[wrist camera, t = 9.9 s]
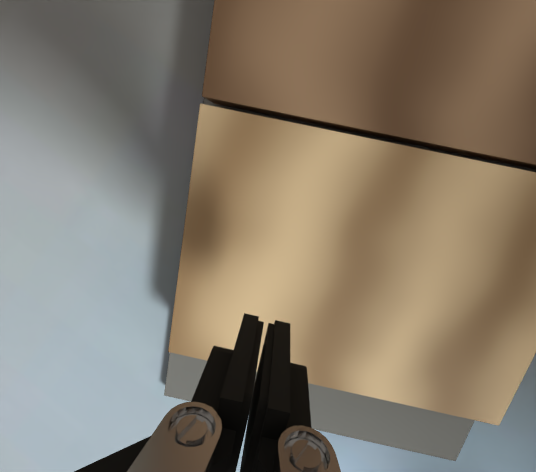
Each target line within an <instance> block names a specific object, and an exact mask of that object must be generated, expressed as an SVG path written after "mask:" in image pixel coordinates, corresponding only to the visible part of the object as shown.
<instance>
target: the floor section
mask: <svg viewBox="0 0 536 472" xmlns="http://www.w3.org/2000/svg"><path fill="white" fill-rule="evenodd" d="M202 97H204V101H203V104H205V105H210V106H215V107H219V108H224V109H229V110H234V111H239V112H244V113H249V114H254V115H258V116H263V117H268V118H273V119H278V120H283V121H288V122H293V123H297V124H302V125H307V126H312V127H317V128H322V129H327V130H332V131H336V132H341V133H346V134H351V135H356V136H361V137H366V138H371V139H375V140H380V141H385V142H390V143H395V144H400V145H405V146H410V147H414V148H419V149H424V150H429V151H434V152H439V153H444V154H449V155H453V156H458V157H463V158H468V159H473V160H478V161H483V162H488V163H492V164H497V165H502V166H507V167H512V168H517V169H522V170H527V171H531V172H536V0H215V1H214V8H213V16H212V24H211V31H210V39H209V46H208V54H207V62H206V69H205V77H204V84H203V92H202ZM206 363H207V360H202V359H198V358H193V357H189V356H184V355H180V354H175V353H171V352H170V355H169V363H168V370H167V378H166V385H165V393H164V395H165V396H169V397H174V398H178V399H183V400H187V401H192V398H193V395H194V393H195V390H196V388H197V385H198V383H199V380H200V378H201V375H202V373H203V370H204V368H205V365H206ZM256 375H257V372H256ZM255 379H256V377H255ZM308 388H309V401H310V414H311V427H312V429H316V430H320V431H324V432H329V433H333V434H338V435H342V436H347V437H351V438H355V439H360V440H364V441H369V442H373V443H378V444H382V445H386V446H391V447H395V448H400V449H404V450H409V451H413V452H417V453H422V454H426V455H431V456H435V457H440V458H444V459H448V460H453V461H456V459H457V457H458V455H459V453H460V451H461V448H462V446H463V444H464V442H465V440H466V438H467V436H468V433H469V431H470V429H471V427H472V425H473V423H474V421H475V420H472V419H467V418H463V417H458V416H454V415H449V414H445V413H440V412H436V411H431V410H427V409H422V408H418V407H413V406H409V405H404V404H400V403H395V402H391V401H386V400H382V399H377V398H373V397H368V396H364V395H359V394H355V393H350V392H346V391H341V390H337V389H332V388H328V387H323V386H319V385H314V384H310V383H308ZM249 412H250V411H249Z"/></svg>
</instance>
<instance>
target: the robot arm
mask: <svg viewBox="0 0 536 472" xmlns="http://www.w3.org/2000/svg"><path fill="white" fill-rule="evenodd" d="M258 319H259V316H255V315H250V314H245V313H244V316H243V319H242V323H241V326H240V330H239V333H238V337H237V340H236V344H235V347H234V350H232V349H227V348H223V347H218V346H213V348H212V350H211V353H210V355H209V358H208V360H207V363H206V365H205V368H204V370H203V373H202V375H201V378H200V380H199V383H198V385H197V388H196V390H195V393H194V395H193V398H192V401H191V402H186V403H182V404H179V405H177V406H176V407H174V408H172V409H171V410H170V411H169V412H168V413H167V414H166V415H165V417H164V418H163V420H162V421H161V423H160V424H159V425H158V427H157V428H156V430H155V431H154V433H153V434H152V436H150V437H148V438H146V439H144V440H141V441H139V442H137V443H135V444H133V445H131V446H128V447H126V448H124V449H122V450H120V451H118V452H116V453H113V454H111V455H109V456H107V457H105V458H103V459H100V460H98V461H96V462H94V463H92V464H90V465H88V466H85V467H83V468H81V469H79V470H77V471H75V472H235V471H236V467H237V463H238V459H239V454H240V450H241V446H242V442H243V437H244V433H245V429H246V424H247V420H248V424H247V431H246V437H245V443H244V450H243V456H242V462H241V469H240V472H341V470H340V467H339V464H338V460H337V457H336V454H335V451H334V449H333V447H332V445H331V444H330V442H329V441H328V440H327V439H326V437H324V436H323V435H322V434H321V433H320V432H318V431H316V430H314V429H312V427H311V414H310V401H309V388H308V374H307V367H306V366H304V365H299V364H295V363H290V323H286V322H282V321H277V320H275V322H274V324H272V323H268V327H267V332H266V336H265V340H264V344H263V349H262V353H261V357H260V362H259V366H258V370H257V364H258V357H259V351H260V344H261V338H262V332H263V325H264V322H263V321H258ZM256 370H257V375H256ZM255 377H256V379H255ZM249 411H250V412H249ZM248 416H249V418H248Z"/></svg>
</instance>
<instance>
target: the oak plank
mask: <svg viewBox="0 0 536 472" xmlns="http://www.w3.org/2000/svg"><path fill="white" fill-rule="evenodd" d="M244 313H245V314H250V315H255V316H259V319H258V321H263V322H264V325H263V332H262V338H261V344H260V351H259V357H258V364H257V370H258V366H259V362H260V357H261V353H262V349H263V344H264V340H265V336H266V332H267V327H268V323H272V324H274V322H275V320H277V321H282V322H286V323H290V363H295V364H299V365H304V366H306V367H307V374H308V383H310V384H314V385H319V386H323V387H328V388H332V389H337V390H341V391H346V392H350V393H355V394H359V395H364V396H368V397H373V398H377V399H382V400H386V401H391V402H395V403H400V404H404V405H409V406H413V407H418V408H422V409H427V410H431V411H436V412H440V413H445V414H449V415H454V416H458V417H463V418H467V419H472V420H476V421H481V422H485V423H490V424H494V425H499V424H500V422H501V420H502V418H503V417H504V415H505V413H506V411H507V409H508V407H509V405H510V403H511V401H512V399H513V397H514V395H515V393H516V391H517V389H518V387H519V385H520V383H521V381H522V379H523V377H524V375H525V373H526V371H527V369H528V367H529V365H530V363H531V361H532V359H533V357H534V355H535V353H536V172H531V171H527V170H522V169H517V168H512V167H507V166H502V165H497V164H492V163H488V162H483V161H478V160H473V159H468V158H463V157H458V156H453V155H449V154H444V153H439V152H434V151H429V150H424V149H419V148H414V147H410V146H405V145H400V144H395V143H390V142H385V141H380V140H375V139H371V138H366V137H361V136H356V135H351V134H346V133H341V132H336V131H332V130H327V129H322V128H317V127H312V126H307V125H302V124H297V123H293V122H288V121H283V120H278V119H273V118H268V117H263V116H258V115H254V114H249V113H244V112H239V111H234V110H229V109H224V108H219V107H215V106H210V105H205V104H200V109H199V117H198V125H197V132H196V140H195V148H194V156H193V163H192V171H191V179H190V187H189V194H188V202H187V210H186V218H185V226H184V233H183V241H182V249H181V257H180V264H179V272H178V280H177V288H176V295H175V303H174V311H173V319H172V326H171V334H170V342H169V350H168V352H171V353H175V354H180V355H184V356H189V357H193V358H198V359H202V360H208V358H209V355H210V353H211V350H212V348H213V346H218V347H223V348H227V349H232V350H234V347H235V344H236V340H237V337H238V333H239V330H240V326H241V323H242V319H243V316H244ZM257 370H256V372H257Z"/></svg>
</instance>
